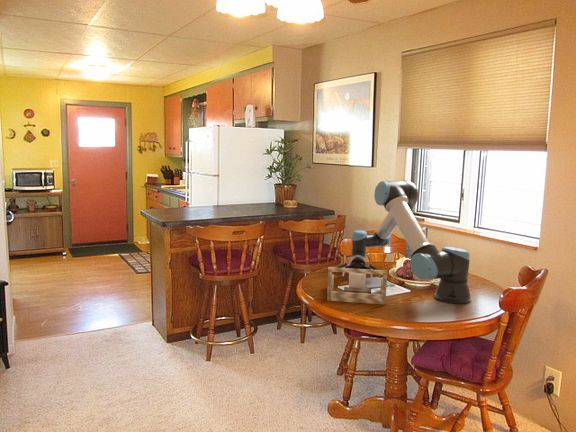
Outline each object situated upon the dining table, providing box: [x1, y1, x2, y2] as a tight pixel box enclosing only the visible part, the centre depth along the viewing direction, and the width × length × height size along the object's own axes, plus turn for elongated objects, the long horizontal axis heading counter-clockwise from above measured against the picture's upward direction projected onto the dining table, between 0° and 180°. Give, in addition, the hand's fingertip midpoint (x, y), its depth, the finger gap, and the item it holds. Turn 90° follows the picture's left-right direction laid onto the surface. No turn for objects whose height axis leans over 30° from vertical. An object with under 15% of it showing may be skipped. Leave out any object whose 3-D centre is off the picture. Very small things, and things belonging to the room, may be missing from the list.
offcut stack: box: [339, 286, 372, 294], centre depth 212 cm, size 14×6×5 cm, turn 84°
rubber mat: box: [365, 276, 395, 289], centre depth 237 cm, size 15×15×1 cm
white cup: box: [348, 273, 367, 288], centre depth 219 cm, size 8×8×10 cm
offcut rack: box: [326, 266, 388, 305], centre depth 216 cm, size 25×21×15 cm
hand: (357, 274), depth 230 cm, fingers open, 13 cm apart
